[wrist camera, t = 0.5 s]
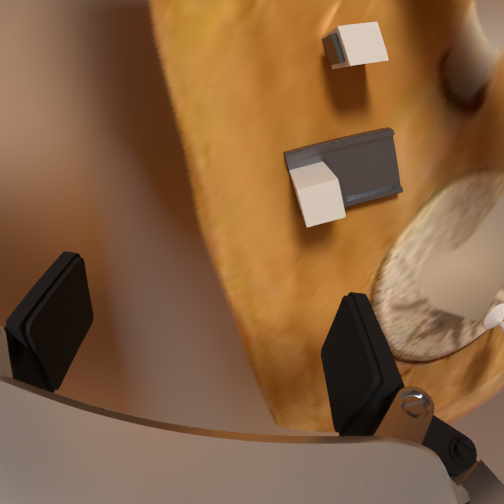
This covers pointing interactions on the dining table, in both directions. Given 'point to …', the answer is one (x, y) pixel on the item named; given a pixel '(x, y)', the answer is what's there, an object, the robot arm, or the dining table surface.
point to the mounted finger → (319, 193)
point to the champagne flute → (495, 317)
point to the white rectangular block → (354, 45)
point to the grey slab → (356, 163)
